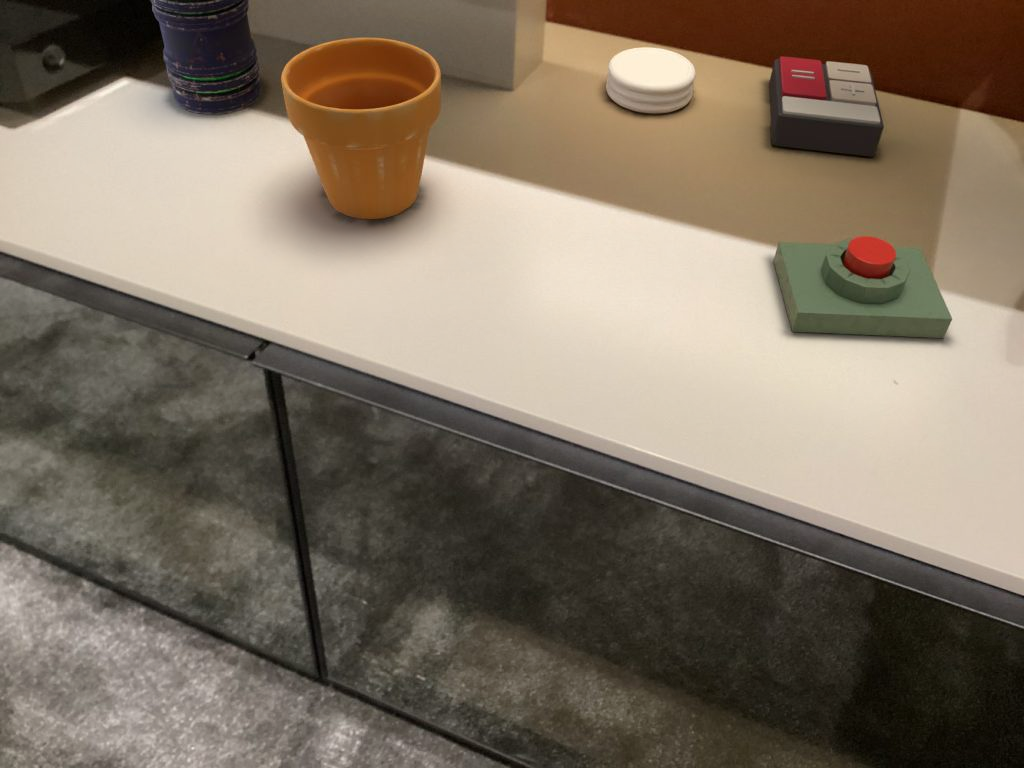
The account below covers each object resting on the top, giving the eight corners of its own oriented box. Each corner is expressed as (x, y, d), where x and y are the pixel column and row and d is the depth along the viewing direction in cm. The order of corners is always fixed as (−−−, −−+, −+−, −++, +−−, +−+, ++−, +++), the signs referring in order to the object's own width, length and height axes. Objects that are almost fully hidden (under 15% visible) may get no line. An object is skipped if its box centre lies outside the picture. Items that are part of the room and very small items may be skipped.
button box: (912, 266, 90) (927, 231, 87) (943, 338, 82) (960, 302, 80) (773, 260, 90) (783, 225, 87) (792, 331, 83) (803, 295, 80)
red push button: (883, 253, 85) (889, 236, 84) (895, 281, 82) (901, 265, 81) (838, 251, 85) (843, 235, 84) (848, 279, 82) (854, 263, 81)
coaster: (696, 117, 108) (702, 88, 106) (608, 114, 108) (611, 85, 106) (686, 74, 115) (690, 46, 113) (603, 72, 115) (606, 44, 113)
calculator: (872, 62, 111) (887, 120, 100) (861, 97, 114) (875, 157, 103) (775, 51, 112) (779, 108, 101) (767, 86, 115) (771, 145, 104)
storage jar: (252, 66, 114) (230, -65, 103) (272, 105, 107) (251, -31, 97) (166, 80, 111) (133, -54, 100) (181, 121, 104) (149, -17, 94)
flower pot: (269, 199, 94) (246, 75, 85) (369, 141, 102) (359, 22, 93) (375, 255, 88) (363, 128, 79) (472, 189, 97) (472, 67, 87)
